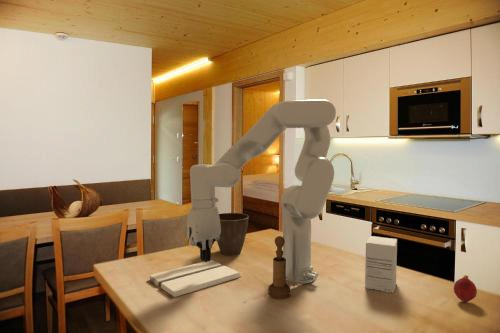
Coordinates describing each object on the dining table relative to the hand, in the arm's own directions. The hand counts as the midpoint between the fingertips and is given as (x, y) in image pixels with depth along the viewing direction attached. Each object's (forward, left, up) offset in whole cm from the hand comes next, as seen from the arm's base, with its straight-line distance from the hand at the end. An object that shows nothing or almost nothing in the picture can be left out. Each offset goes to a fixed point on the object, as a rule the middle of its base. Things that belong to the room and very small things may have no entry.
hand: (205, 260), depth 115 cm
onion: (-57, -52, -9) cm, 78 cm away
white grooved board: (+6, +1, -9) cm, 11 cm away
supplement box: (-35, -44, -9) cm, 57 cm away
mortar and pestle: (-19, -14, -9) cm, 25 cm away
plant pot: (+21, -25, -9) cm, 34 cm away
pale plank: (+2, +1, -7) cm, 8 cm away
